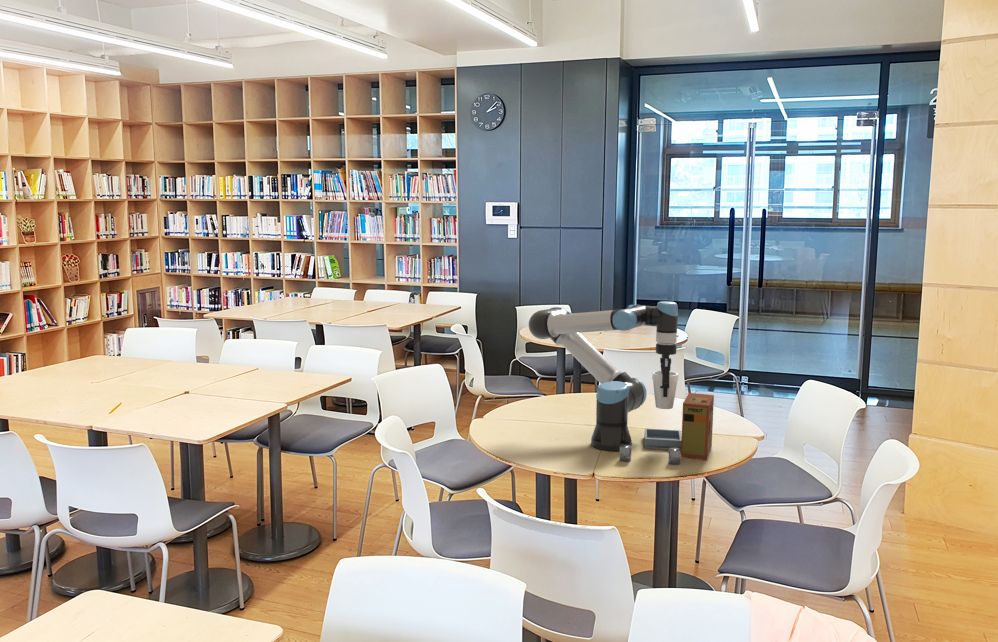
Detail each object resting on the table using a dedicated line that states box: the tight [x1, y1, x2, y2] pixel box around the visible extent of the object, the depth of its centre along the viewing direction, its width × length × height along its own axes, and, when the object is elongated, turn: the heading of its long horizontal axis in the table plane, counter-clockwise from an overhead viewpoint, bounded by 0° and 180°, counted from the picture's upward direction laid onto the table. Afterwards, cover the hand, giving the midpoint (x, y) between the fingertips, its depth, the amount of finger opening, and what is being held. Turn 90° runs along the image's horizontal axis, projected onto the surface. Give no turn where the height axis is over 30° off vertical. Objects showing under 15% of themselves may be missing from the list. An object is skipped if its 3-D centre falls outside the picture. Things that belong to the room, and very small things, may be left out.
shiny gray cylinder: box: [668, 448, 681, 466], centre depth 262 cm, size 4×4×5 cm
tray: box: [643, 428, 682, 450], centre depth 285 cm, size 14×14×4 cm
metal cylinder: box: [618, 445, 632, 463], centre depth 266 cm, size 4×4×5 cm
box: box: [680, 392, 715, 461], centre depth 274 cm, size 17×9×20 cm, turn 159°
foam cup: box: [651, 370, 679, 410], centre depth 282 cm, size 10×9×13 cm
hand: (664, 401), depth 283 cm, fingers closed on foam cup, 9 cm apart
